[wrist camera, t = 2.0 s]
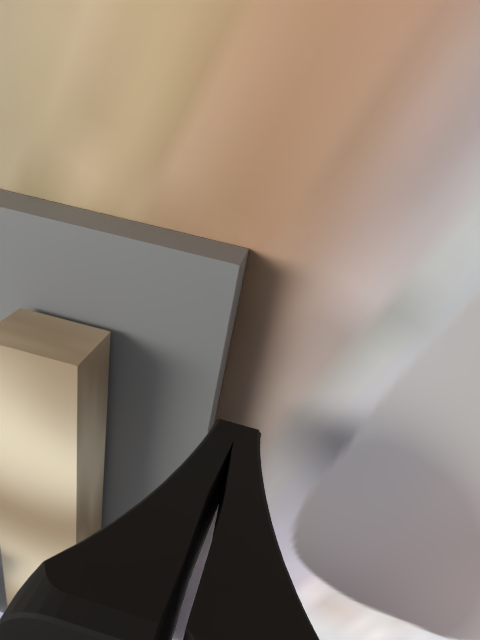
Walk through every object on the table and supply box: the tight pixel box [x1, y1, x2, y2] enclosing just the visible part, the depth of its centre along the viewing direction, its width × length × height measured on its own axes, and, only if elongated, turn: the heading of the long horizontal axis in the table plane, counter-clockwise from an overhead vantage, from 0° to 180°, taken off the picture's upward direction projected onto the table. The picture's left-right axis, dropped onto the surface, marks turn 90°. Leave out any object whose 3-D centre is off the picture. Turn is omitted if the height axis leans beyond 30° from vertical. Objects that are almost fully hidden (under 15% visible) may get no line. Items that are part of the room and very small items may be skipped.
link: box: [0, 308, 111, 607], centre depth 16 cm, size 17×4×3 cm, turn 169°
